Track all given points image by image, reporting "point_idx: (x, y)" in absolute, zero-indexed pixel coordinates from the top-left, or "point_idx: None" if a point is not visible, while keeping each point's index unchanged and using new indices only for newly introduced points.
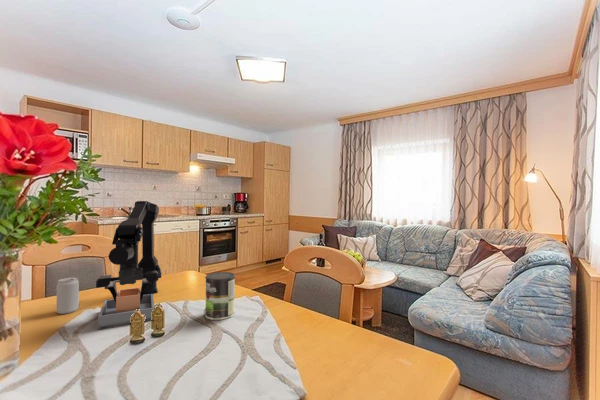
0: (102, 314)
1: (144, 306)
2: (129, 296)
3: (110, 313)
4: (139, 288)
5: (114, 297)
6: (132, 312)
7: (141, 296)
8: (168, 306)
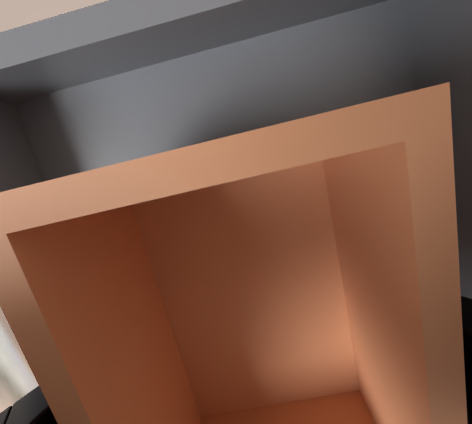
0: (466, 72)
1: None
2: (158, 154)
3: None
4: None
5: (467, 305)
6: (123, 5)
7: None
8: (12, 358)
